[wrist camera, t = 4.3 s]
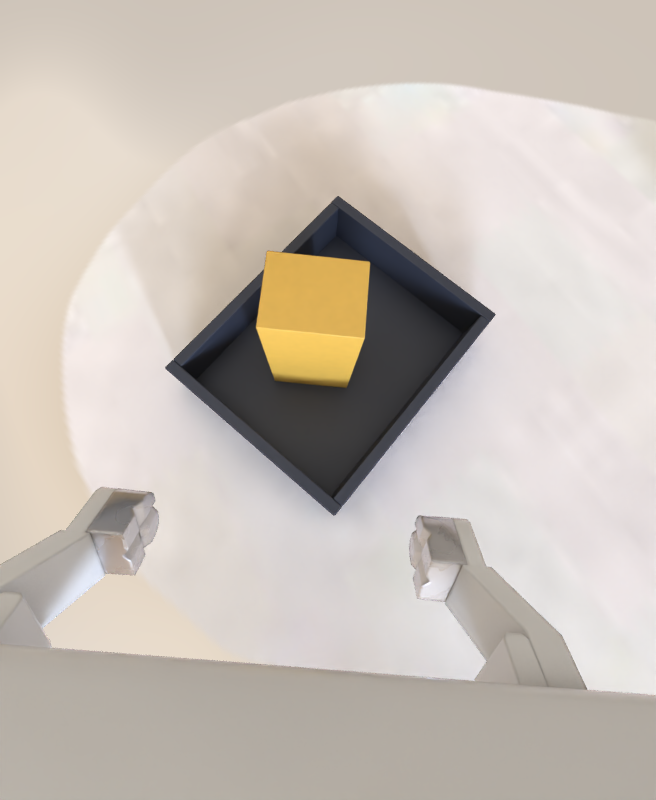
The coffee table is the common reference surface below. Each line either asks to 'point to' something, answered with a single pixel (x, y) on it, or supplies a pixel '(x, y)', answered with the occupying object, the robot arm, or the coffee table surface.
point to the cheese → (312, 317)
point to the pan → (373, 372)
